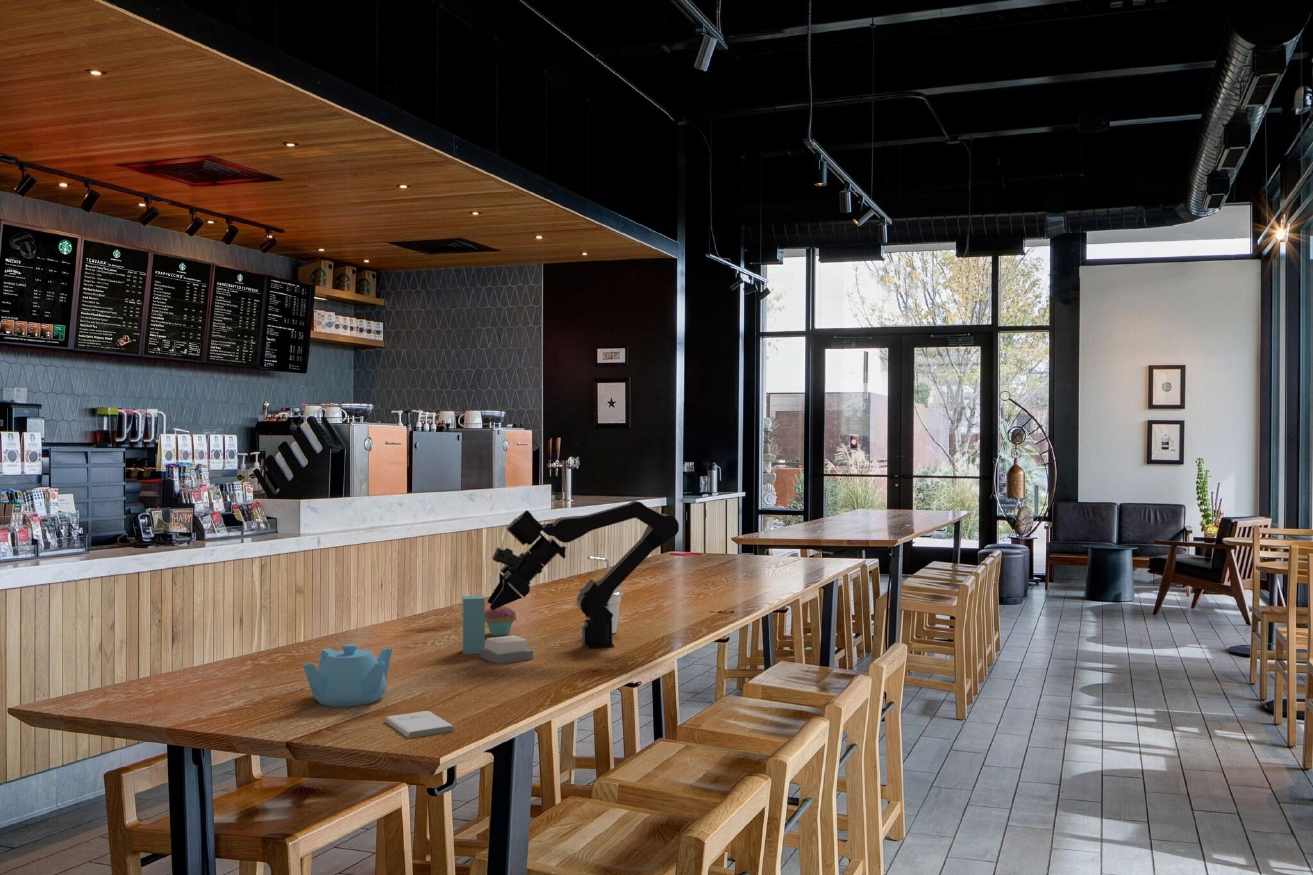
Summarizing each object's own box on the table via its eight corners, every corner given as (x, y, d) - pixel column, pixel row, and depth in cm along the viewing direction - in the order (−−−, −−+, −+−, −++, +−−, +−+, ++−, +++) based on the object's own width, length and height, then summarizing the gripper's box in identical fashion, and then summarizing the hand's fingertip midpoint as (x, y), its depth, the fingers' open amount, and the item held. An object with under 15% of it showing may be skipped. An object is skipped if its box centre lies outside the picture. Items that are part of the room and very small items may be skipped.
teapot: (396, 689, 216) (395, 636, 216) (385, 707, 201) (385, 650, 201) (318, 691, 214) (318, 638, 214) (302, 710, 199) (301, 653, 199)
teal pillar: (483, 649, 257) (483, 595, 257) (484, 653, 252) (484, 598, 252) (462, 650, 256) (462, 596, 256) (463, 654, 251) (463, 599, 251)
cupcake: (499, 638, 271) (499, 591, 271) (476, 634, 276) (476, 588, 276) (523, 633, 278) (522, 587, 278) (500, 629, 283) (499, 584, 283)
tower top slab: (514, 645, 251) (514, 635, 251) (526, 650, 245) (526, 640, 245) (486, 648, 247) (486, 638, 247) (498, 654, 241) (498, 643, 241)
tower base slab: (515, 654, 253) (515, 644, 253) (532, 661, 245) (532, 650, 245) (480, 659, 247) (480, 648, 247) (497, 666, 240) (497, 655, 240)
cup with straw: (620, 635, 274) (620, 557, 274) (586, 634, 275) (586, 557, 275) (626, 629, 282) (626, 554, 282) (593, 628, 284) (593, 553, 284)
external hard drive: (408, 741, 180) (385, 724, 191) (454, 734, 185) (429, 718, 195) (408, 732, 180) (385, 715, 191) (454, 725, 185) (429, 709, 195)
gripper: (509, 532, 265) (464, 577, 263) (515, 538, 247) (467, 587, 244) (540, 563, 267) (496, 608, 264) (549, 572, 248) (501, 620, 246)
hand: (489, 605), depth 255 cm, fingers open, 9 cm apart
